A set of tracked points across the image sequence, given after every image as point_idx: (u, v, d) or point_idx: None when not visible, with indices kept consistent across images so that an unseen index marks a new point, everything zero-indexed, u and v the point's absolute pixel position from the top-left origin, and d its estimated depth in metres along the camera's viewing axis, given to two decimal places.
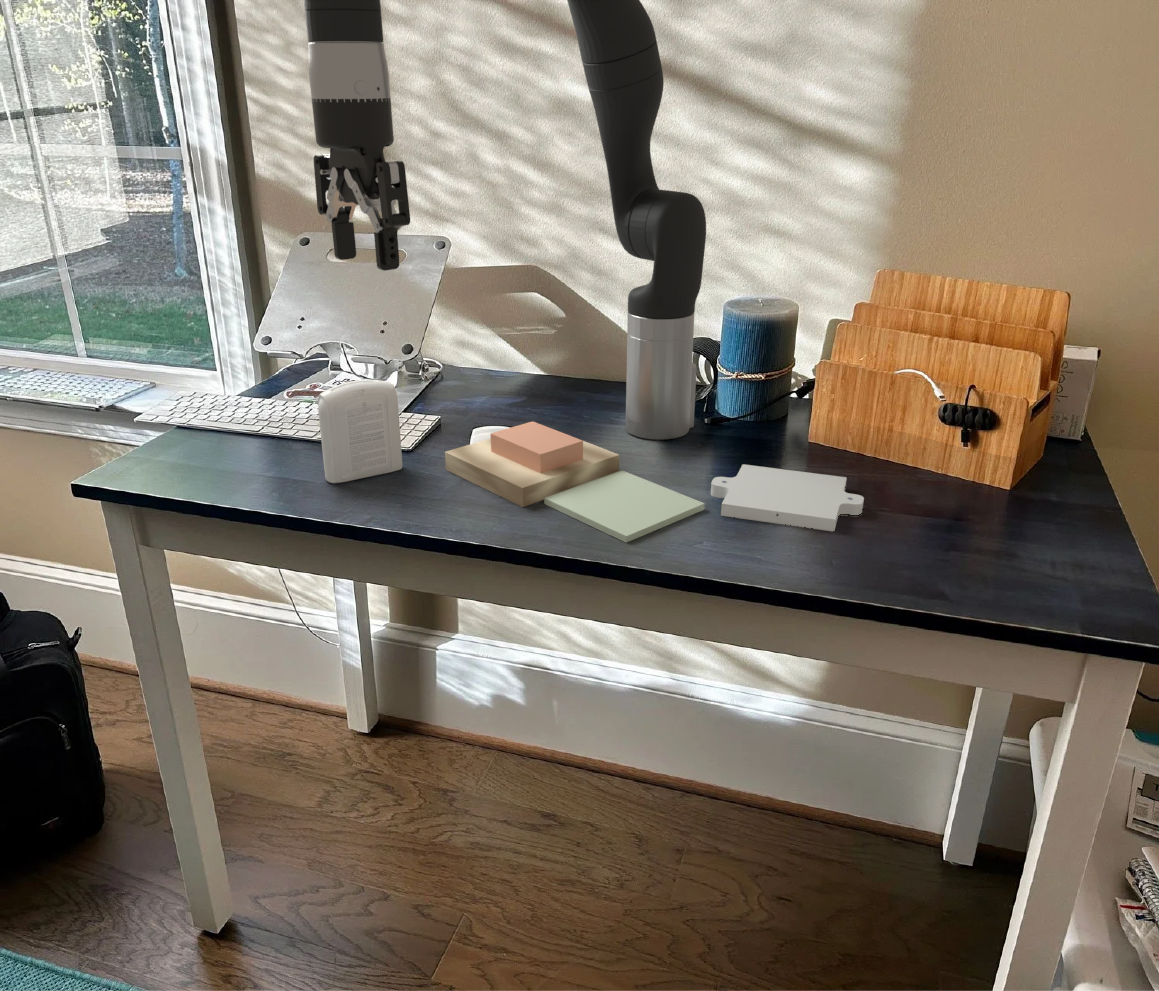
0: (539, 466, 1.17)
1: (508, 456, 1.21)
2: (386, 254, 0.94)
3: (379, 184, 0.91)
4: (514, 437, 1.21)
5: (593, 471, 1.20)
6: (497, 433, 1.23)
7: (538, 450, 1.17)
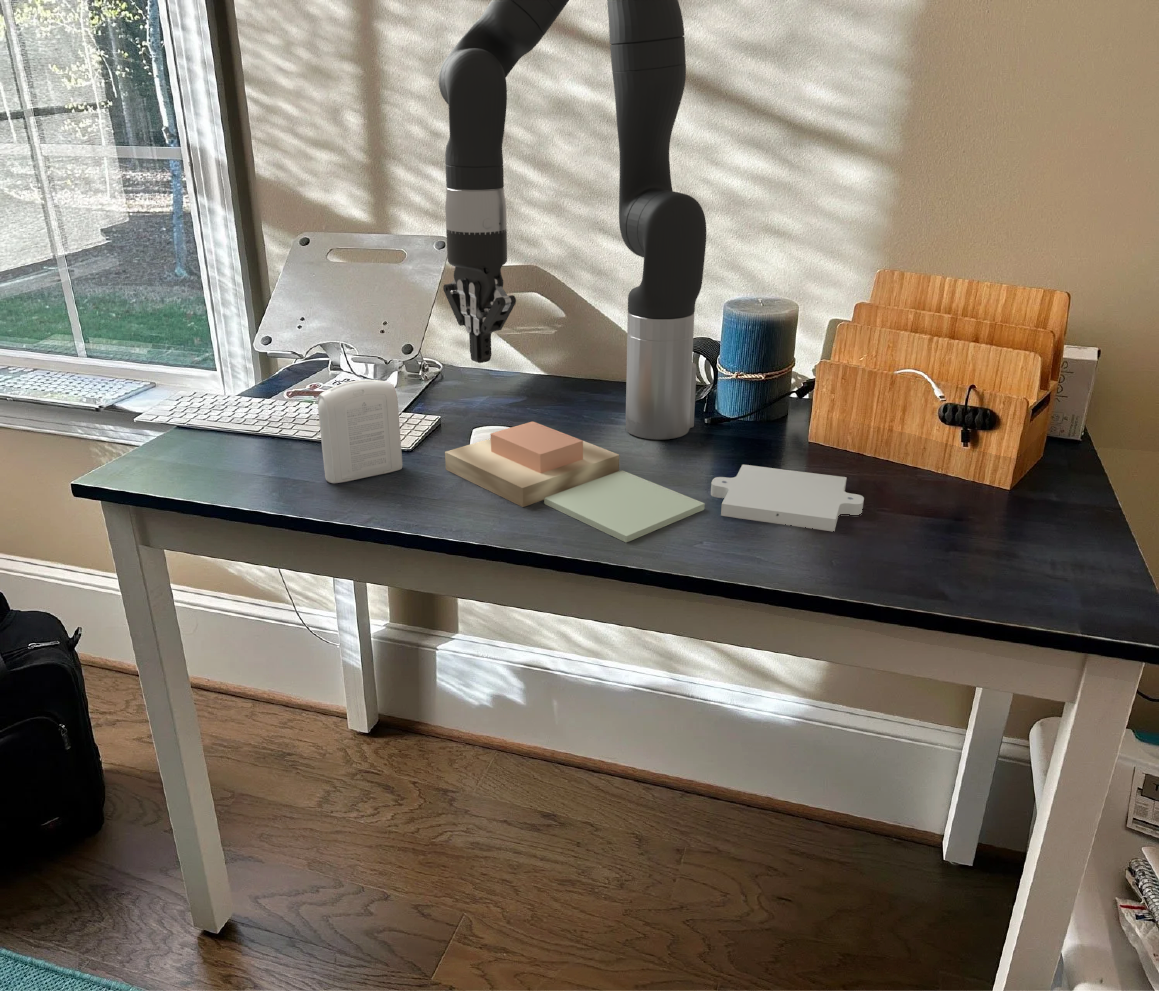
0: (539, 466, 1.17)
1: (508, 456, 1.21)
2: (482, 351, 1.24)
3: (491, 307, 1.19)
4: (514, 437, 1.21)
5: (593, 471, 1.20)
6: (497, 433, 1.23)
7: (538, 450, 1.17)
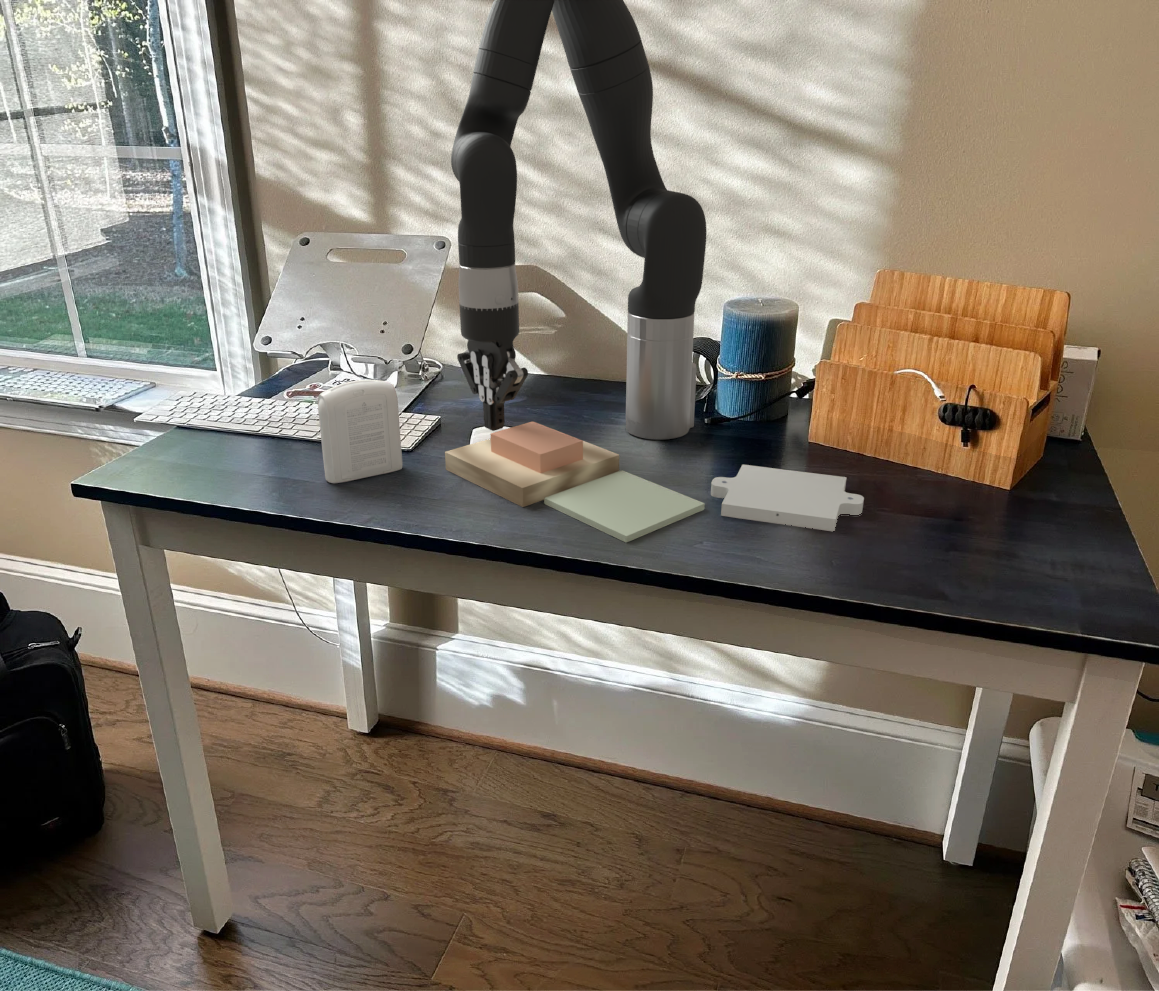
0: (539, 466, 1.17)
1: (508, 456, 1.21)
2: (495, 420, 1.26)
3: (504, 379, 1.21)
4: (514, 437, 1.21)
5: (593, 471, 1.20)
6: (497, 433, 1.23)
7: (538, 450, 1.17)
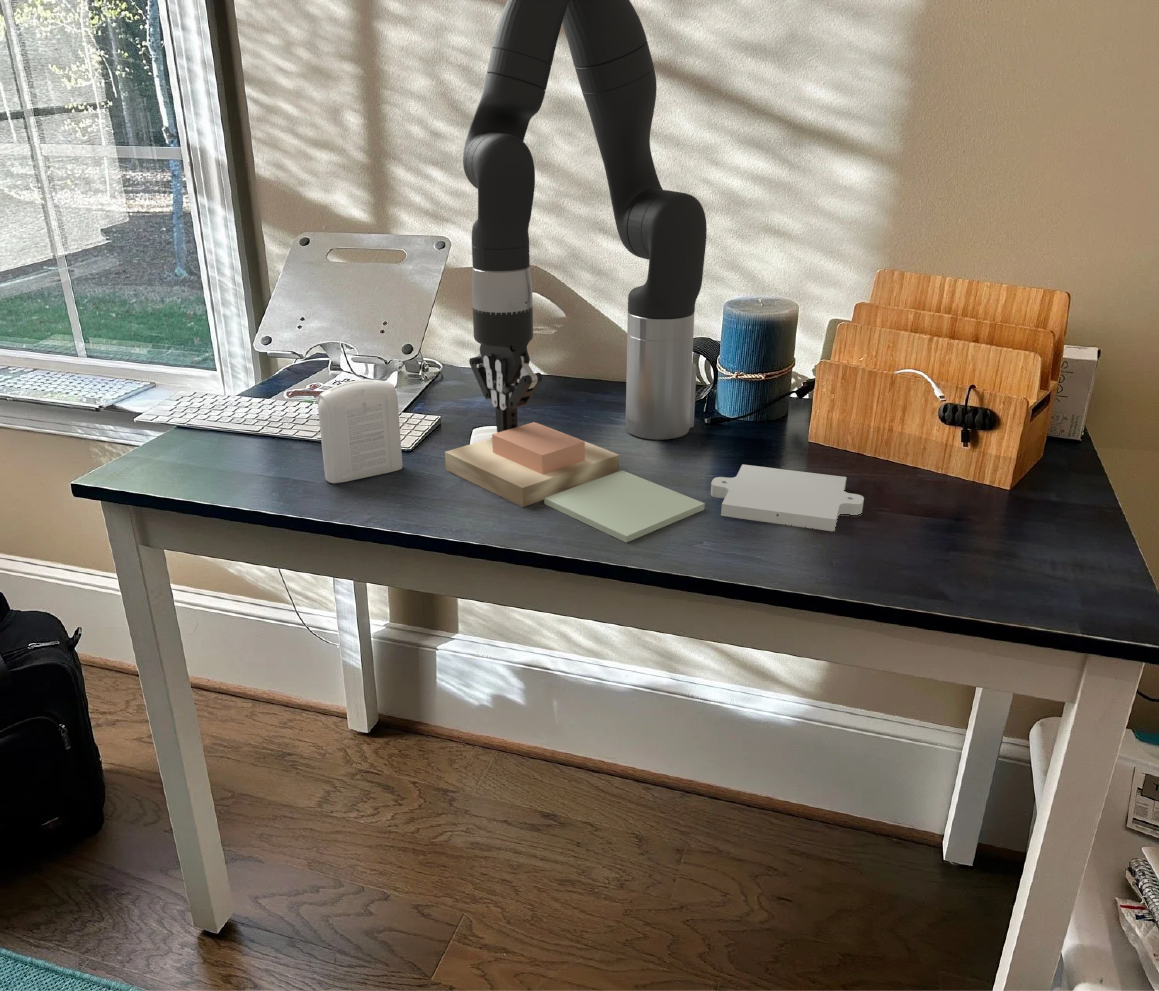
0: (541, 467, 1.16)
1: (510, 457, 1.21)
2: (508, 425, 1.24)
3: (518, 384, 1.19)
4: (516, 438, 1.21)
5: (593, 471, 1.20)
6: (499, 434, 1.22)
7: (539, 451, 1.17)
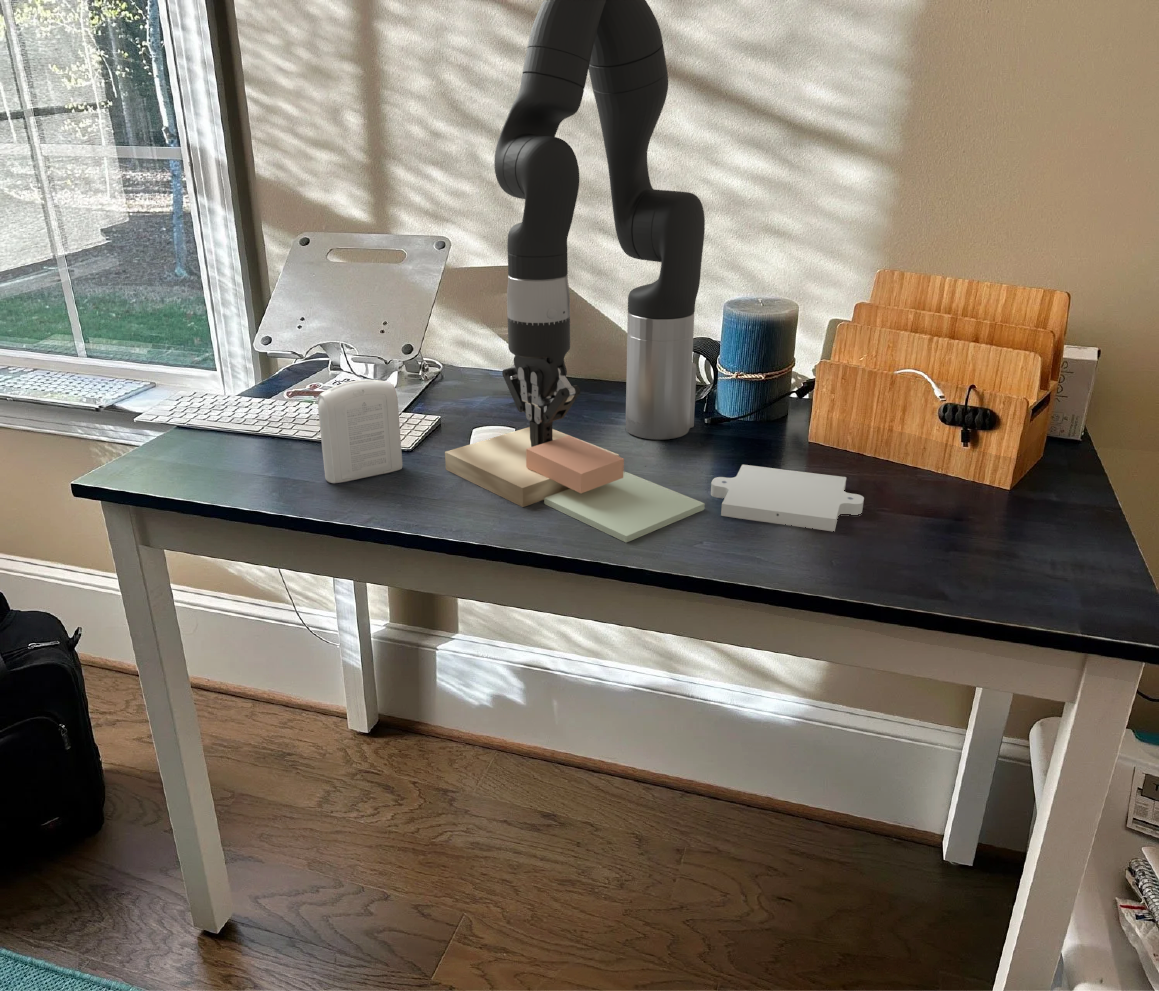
0: (579, 486, 1.11)
1: (545, 473, 1.16)
2: (543, 440, 1.19)
3: (555, 398, 1.14)
4: (552, 453, 1.16)
5: None
6: (533, 448, 1.17)
7: (578, 469, 1.12)
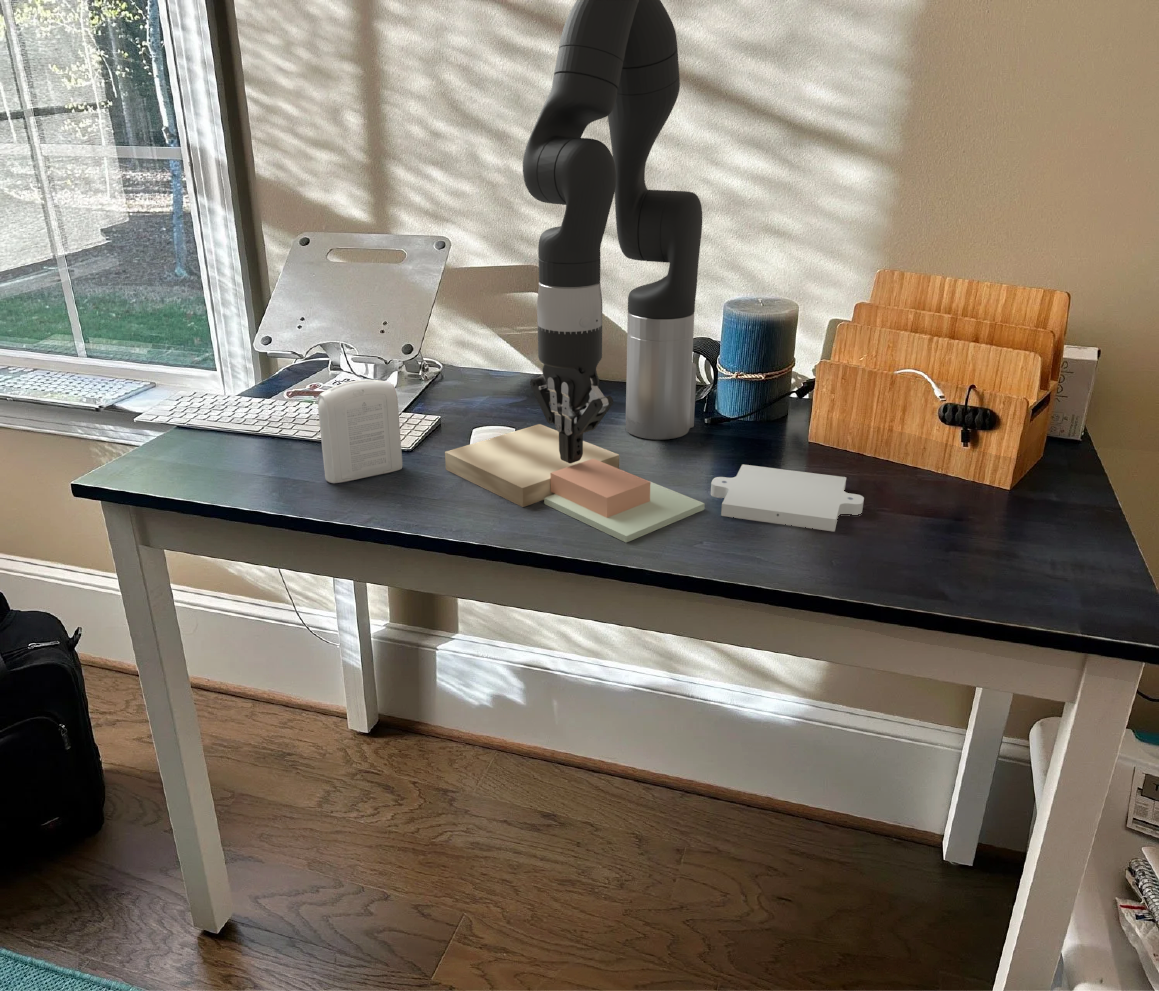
0: (605, 510, 1.09)
1: (570, 497, 1.13)
2: (573, 452, 1.15)
3: (587, 409, 1.10)
4: (576, 477, 1.14)
5: None
6: (557, 472, 1.15)
7: (604, 492, 1.09)
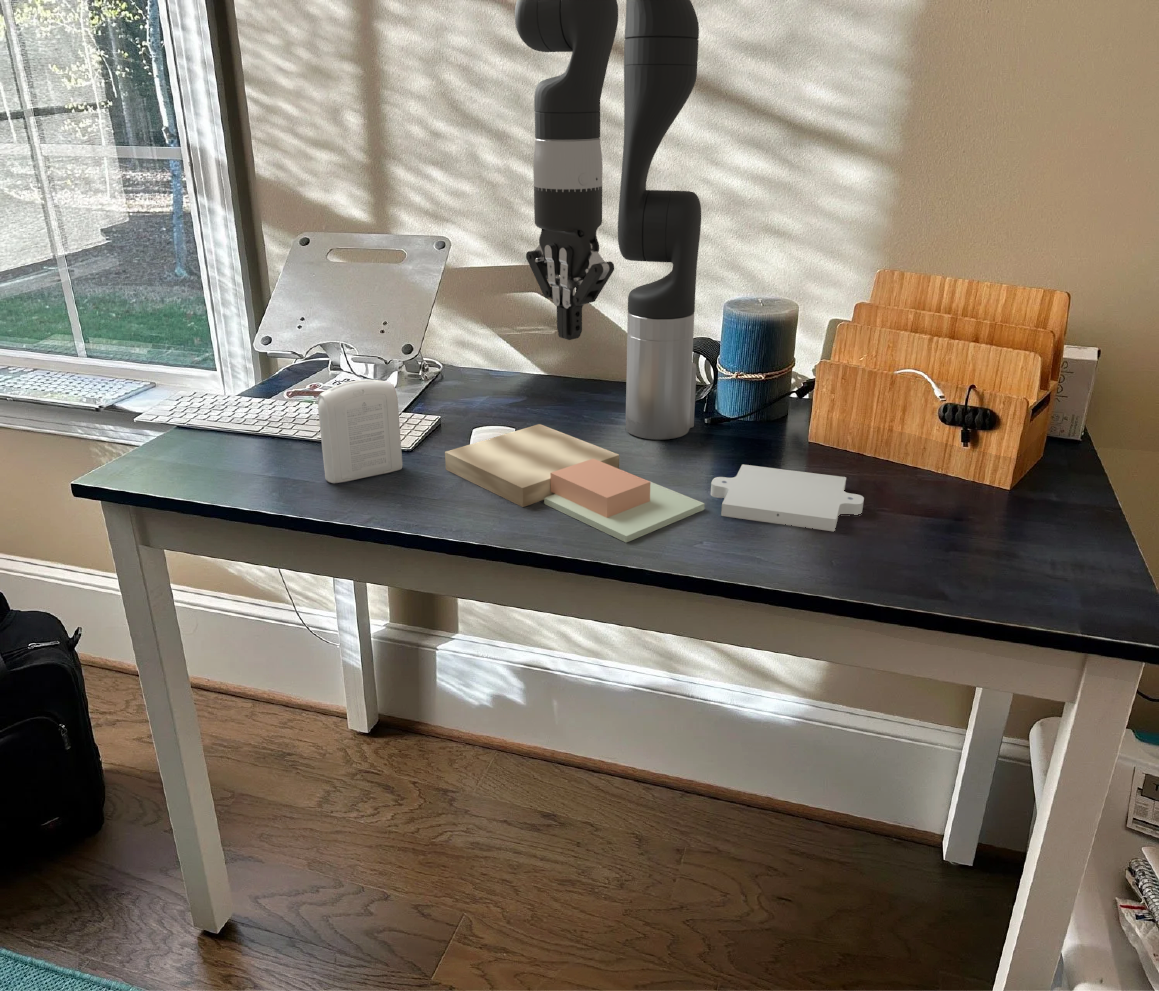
0: (605, 510, 1.09)
1: (570, 497, 1.13)
2: (572, 326, 1.09)
3: (586, 275, 1.04)
4: (576, 477, 1.14)
5: None
6: (557, 472, 1.15)
7: (604, 492, 1.09)
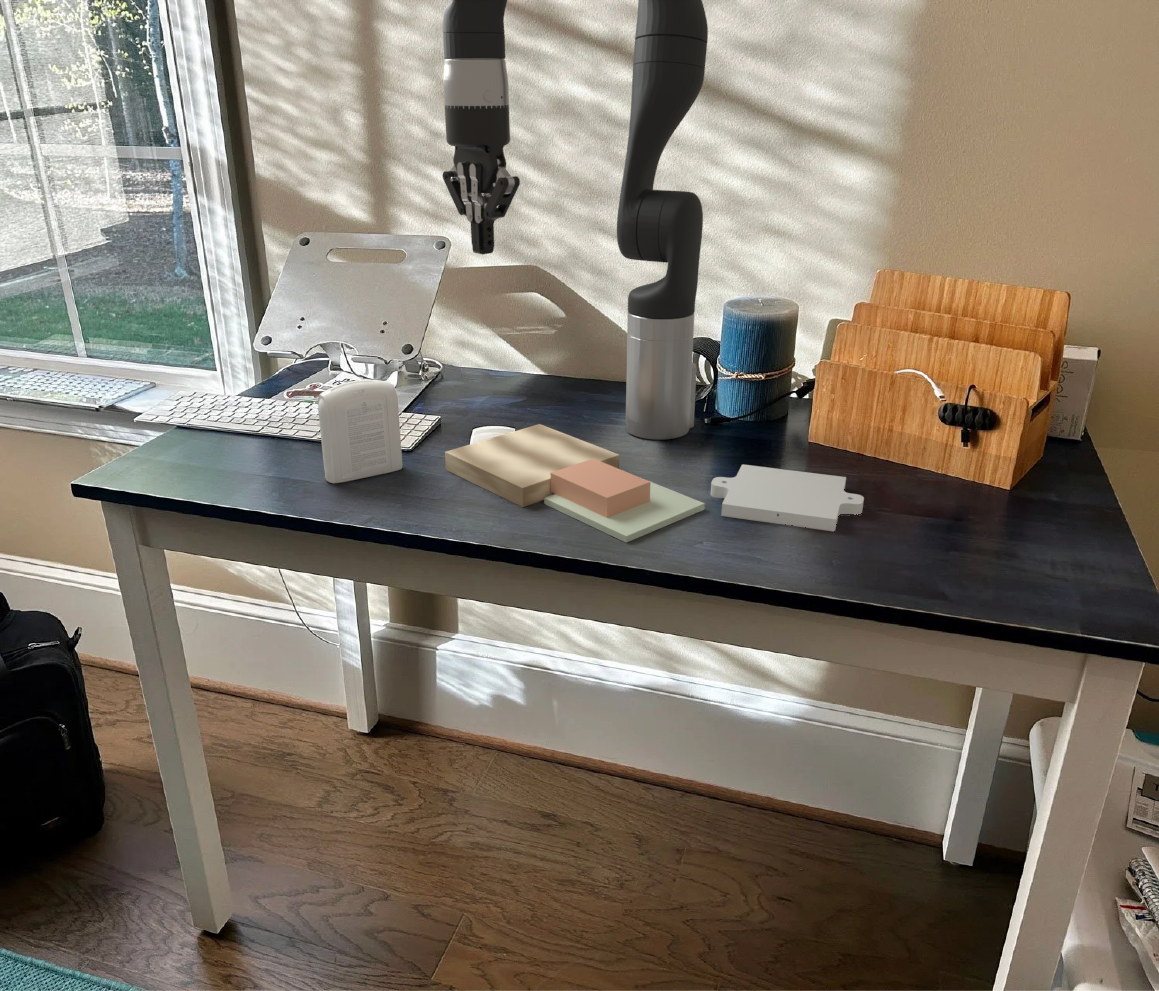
0: (605, 510, 1.09)
1: (570, 497, 1.13)
2: (484, 241, 1.16)
3: (494, 189, 1.11)
4: (576, 477, 1.14)
5: None
6: (557, 472, 1.15)
7: (604, 492, 1.09)
